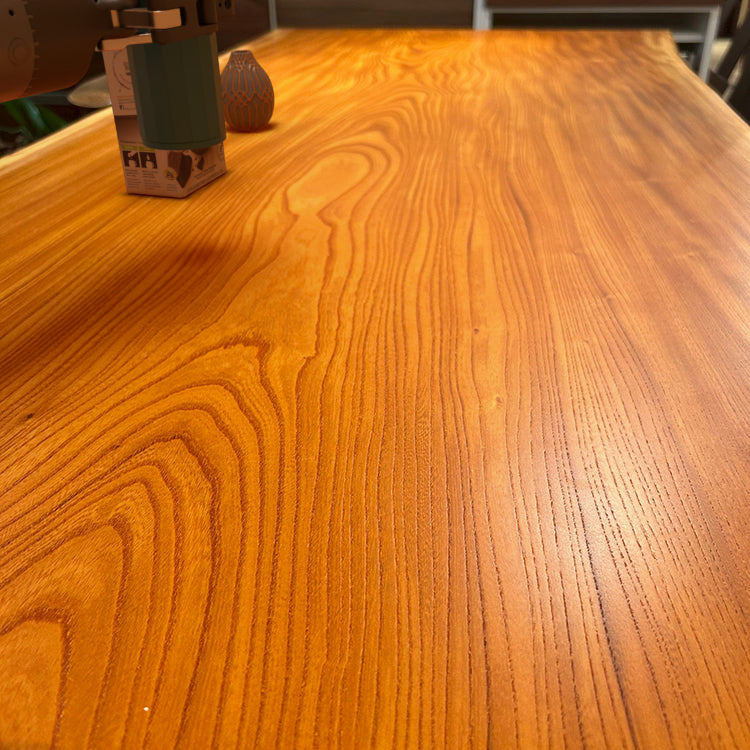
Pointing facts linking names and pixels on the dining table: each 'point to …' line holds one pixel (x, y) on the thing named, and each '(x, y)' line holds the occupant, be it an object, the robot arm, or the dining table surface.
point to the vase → (246, 92)
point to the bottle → (178, 92)
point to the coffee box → (148, 165)
